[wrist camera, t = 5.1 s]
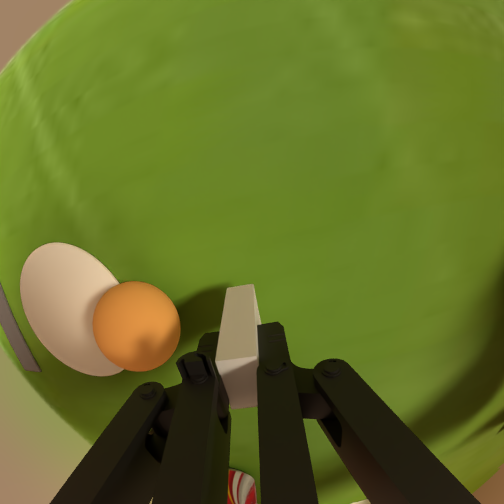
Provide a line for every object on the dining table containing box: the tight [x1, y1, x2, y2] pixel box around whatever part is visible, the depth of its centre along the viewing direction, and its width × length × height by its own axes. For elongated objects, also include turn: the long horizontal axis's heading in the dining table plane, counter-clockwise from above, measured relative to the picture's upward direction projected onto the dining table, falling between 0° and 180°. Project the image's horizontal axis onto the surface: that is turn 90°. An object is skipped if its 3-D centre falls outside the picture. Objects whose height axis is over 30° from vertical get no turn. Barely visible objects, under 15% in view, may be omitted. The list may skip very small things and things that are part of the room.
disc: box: [20, 242, 124, 376], centre depth 18 cm, size 12×12×1 cm
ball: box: [92, 281, 181, 372], centre depth 16 cm, size 6×6×6 cm
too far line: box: [0, 283, 41, 372], centre depth 19 cm, size 3×12×1 cm, turn 10°
